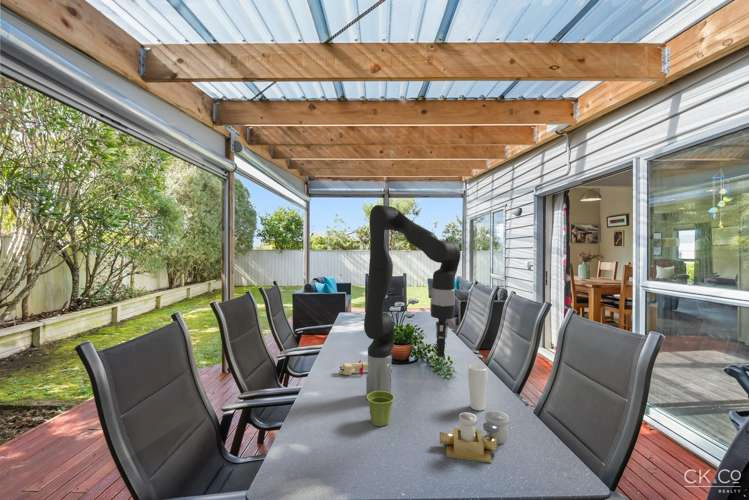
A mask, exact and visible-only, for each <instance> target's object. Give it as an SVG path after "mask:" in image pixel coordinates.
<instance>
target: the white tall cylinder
mask: <svg viewBox="0 0 749 500" xmlns="http://www.w3.org/2000/svg"><path fill="white" fill-rule="evenodd" d="M467 370H468V371H467V372H468V373H467V378H468V387H469V389H468V390H469V391H468V392H469V404H470V405H469V406H470V408H471V409H473V410H475V411H484V410H485V409H486V399H487V387H488V368H487V366H486V365H483V364H475V363H474V364H470V365H469V366H468V368H467Z"/></svg>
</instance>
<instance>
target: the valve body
mask: <svg viewBox="0 0 749 500" xmlns="http://www.w3.org/2000/svg"><path fill="white" fill-rule="evenodd" d="M482 428H483V430H484V431H485V432H486V431H487V432H489V438H488V437H486V436H483V435H482V430H480V429H475V442H471V441H463V440H461V427H455V426H454V427H453V432H452V433H451V432H444V431H443V432H441V431H440V432H439V445H446V458H451V459H458V460H466V461H467V460H468V461H474V462H481V463H482V462H483V463H488V464H492V463H493V462H492V454H491V451H498V444H497V439H496V438H493V433H497V432H499V426H498V425H497V424H495V423H492V422H487V421H486V422H484V423H483V425H482Z"/></svg>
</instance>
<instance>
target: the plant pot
mask: <svg viewBox="0 0 749 500" xmlns="http://www.w3.org/2000/svg"><path fill="white" fill-rule="evenodd" d="M366 401H367V403H368V404H369V405H368V407H369V413H370V414H369V415H370V422H371V423H372V425H374V426H376V427H383V426H388V425H389V424H390V419H391V412H392V405H393V402H394V401H395V395H394V394H393V393H392V392H391V393H389V392H386V391H374V392H371V393H369V394H368V395H367V400H366Z"/></svg>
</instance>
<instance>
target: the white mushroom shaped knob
mask: <svg viewBox="0 0 749 500" xmlns="http://www.w3.org/2000/svg"><path fill="white" fill-rule="evenodd" d="M458 422H459V423H460V428H461V440H463V441H471V442H475V430H476V425H477V423H478V417H477V416H476V415H475V414H474V413H472V412H466V411H465V412H461V413H459V415H458Z"/></svg>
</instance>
